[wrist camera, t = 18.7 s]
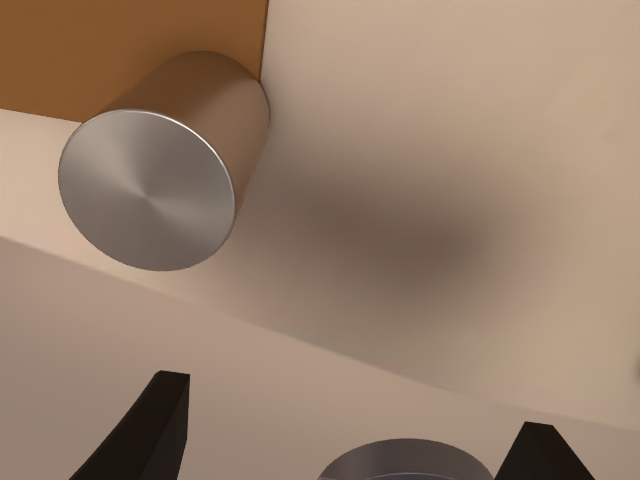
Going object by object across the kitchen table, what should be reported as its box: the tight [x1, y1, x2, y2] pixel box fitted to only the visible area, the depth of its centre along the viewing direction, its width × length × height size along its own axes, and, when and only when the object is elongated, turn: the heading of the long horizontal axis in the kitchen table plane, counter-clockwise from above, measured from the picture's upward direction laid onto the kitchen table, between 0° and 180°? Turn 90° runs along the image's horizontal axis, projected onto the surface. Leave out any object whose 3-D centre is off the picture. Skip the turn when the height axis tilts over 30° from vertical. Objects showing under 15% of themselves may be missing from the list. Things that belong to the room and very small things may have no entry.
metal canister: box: [58, 51, 270, 271], centre depth 16 cm, size 4×4×6 cm
